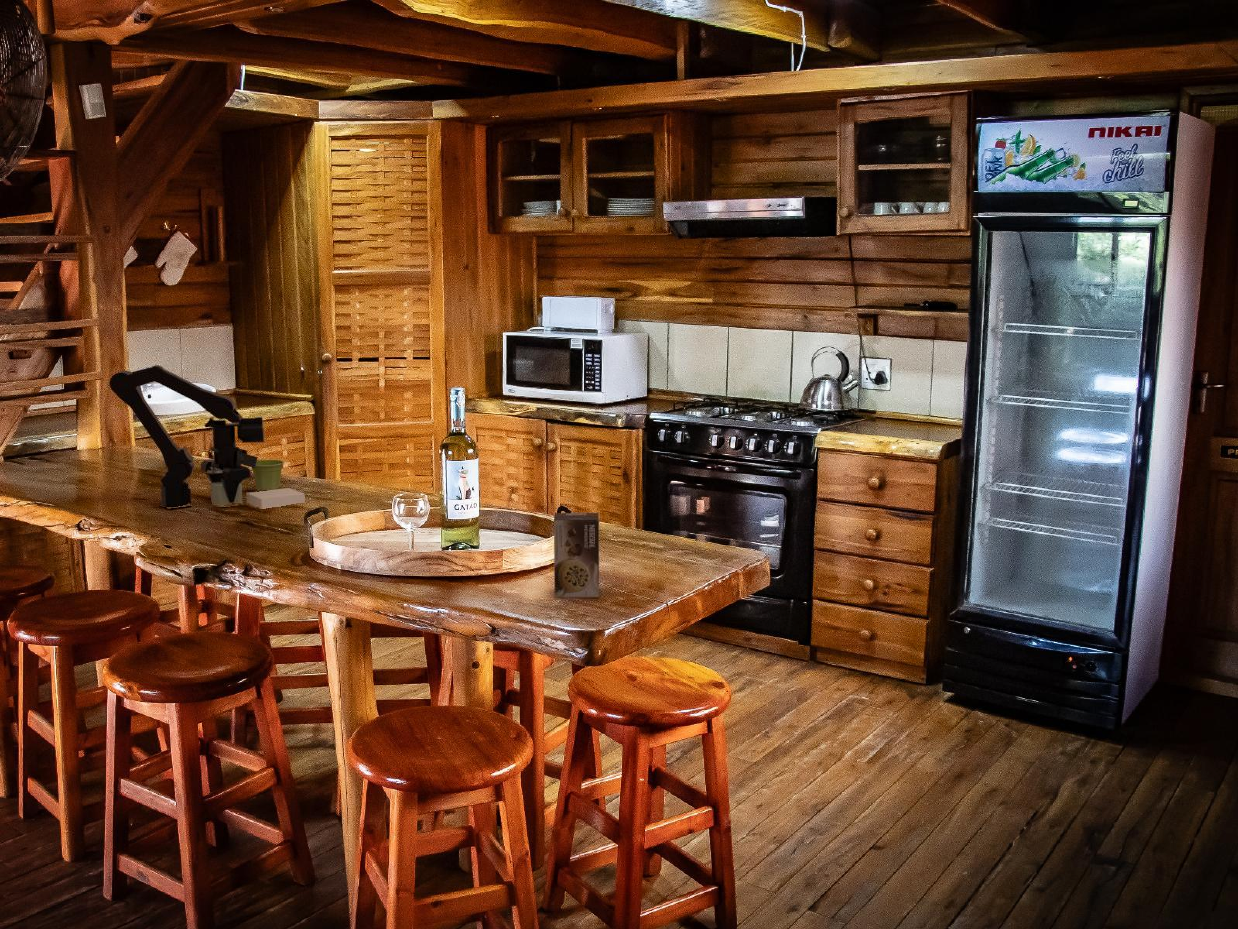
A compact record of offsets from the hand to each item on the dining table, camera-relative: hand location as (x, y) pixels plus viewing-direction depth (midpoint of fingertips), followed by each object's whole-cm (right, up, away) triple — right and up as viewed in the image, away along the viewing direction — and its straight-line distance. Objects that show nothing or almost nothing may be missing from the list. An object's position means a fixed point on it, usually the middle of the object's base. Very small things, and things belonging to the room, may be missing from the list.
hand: (226, 500), depth 320 cm
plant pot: (+6, +2, +18) cm, 19 cm away
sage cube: (0, -1, 0) cm, 1 cm away
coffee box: (+97, -17, -80) cm, 126 cm away
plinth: (+13, -2, -1) cm, 14 cm away
